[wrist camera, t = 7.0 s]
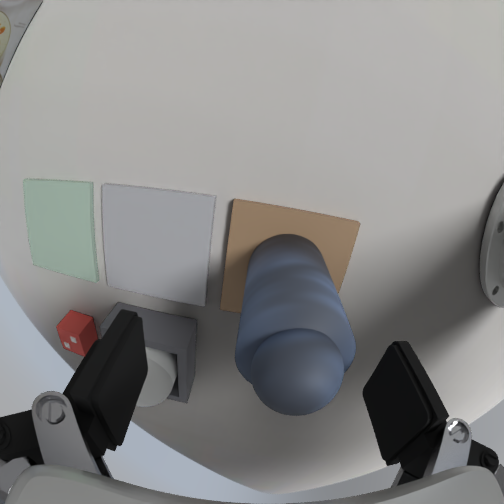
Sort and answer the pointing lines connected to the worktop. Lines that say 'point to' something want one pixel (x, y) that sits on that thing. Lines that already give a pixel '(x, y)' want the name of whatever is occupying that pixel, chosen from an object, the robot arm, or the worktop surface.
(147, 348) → the popper dome
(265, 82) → the worktop surface
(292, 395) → the pawn
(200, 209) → the game board
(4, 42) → the coffee box
